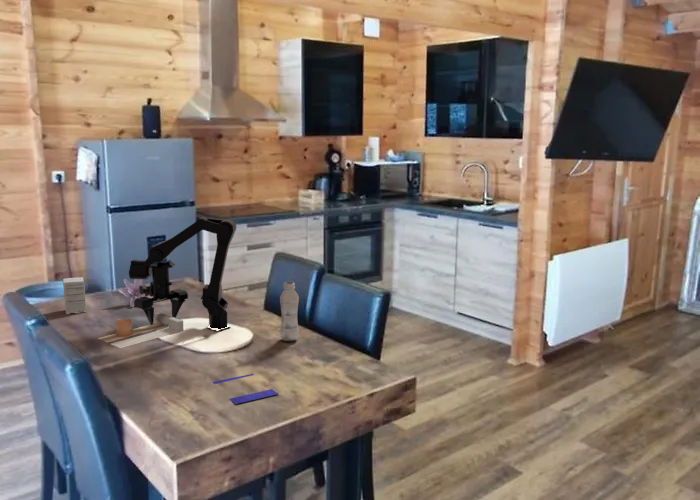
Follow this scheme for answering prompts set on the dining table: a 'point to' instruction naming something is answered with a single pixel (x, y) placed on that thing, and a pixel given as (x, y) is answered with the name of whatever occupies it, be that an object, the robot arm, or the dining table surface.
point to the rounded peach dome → (124, 327)
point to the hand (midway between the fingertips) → (162, 321)
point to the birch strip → (142, 328)
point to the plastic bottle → (289, 313)
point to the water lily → (132, 290)
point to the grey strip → (153, 333)
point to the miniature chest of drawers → (74, 294)
